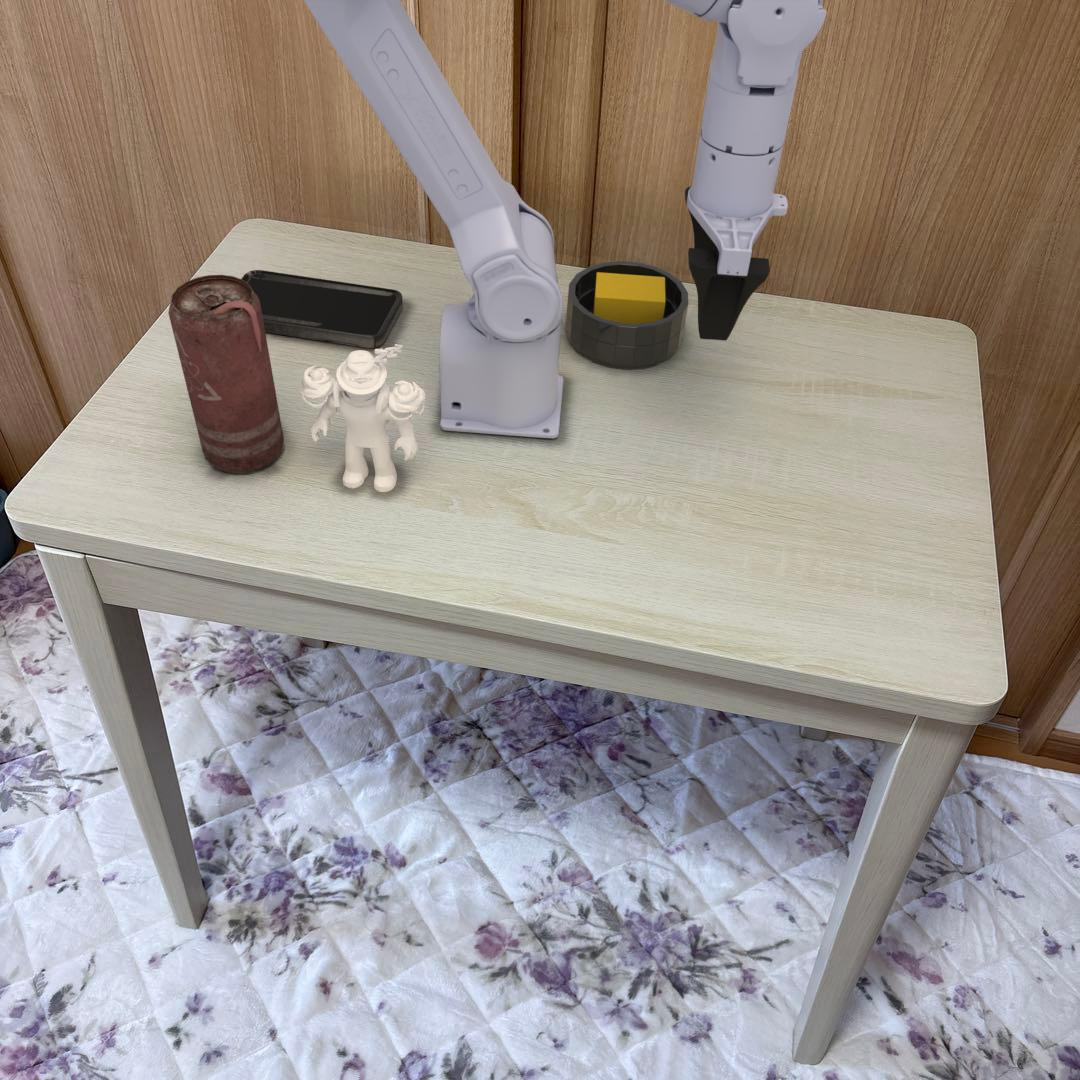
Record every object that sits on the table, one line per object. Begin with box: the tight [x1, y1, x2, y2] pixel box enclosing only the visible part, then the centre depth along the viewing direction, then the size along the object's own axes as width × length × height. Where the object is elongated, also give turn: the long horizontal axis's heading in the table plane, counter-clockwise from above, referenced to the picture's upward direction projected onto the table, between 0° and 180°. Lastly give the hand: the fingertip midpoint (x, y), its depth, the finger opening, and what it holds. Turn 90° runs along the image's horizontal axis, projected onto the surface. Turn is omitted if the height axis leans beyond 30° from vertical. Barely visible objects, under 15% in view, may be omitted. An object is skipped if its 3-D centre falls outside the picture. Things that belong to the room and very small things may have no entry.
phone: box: [241, 269, 404, 349], centre depth 95 cm, size 8×1×15 cm
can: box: [167, 274, 285, 475], centre depth 77 cm, size 6×6×14 cm
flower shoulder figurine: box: [300, 343, 426, 493], centre depth 76 cm, size 9×4×12 cm, turn 79°
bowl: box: [565, 260, 689, 370], centre depth 93 cm, size 10×10×4 cm
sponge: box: [593, 272, 665, 324], centre depth 93 cm, size 6×4×4 cm, turn 86°
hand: (710, 308), depth 81 cm, fingers open, 7 cm apart
